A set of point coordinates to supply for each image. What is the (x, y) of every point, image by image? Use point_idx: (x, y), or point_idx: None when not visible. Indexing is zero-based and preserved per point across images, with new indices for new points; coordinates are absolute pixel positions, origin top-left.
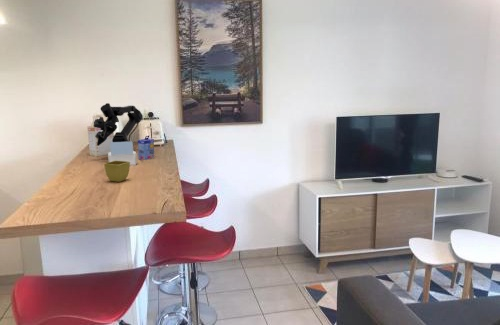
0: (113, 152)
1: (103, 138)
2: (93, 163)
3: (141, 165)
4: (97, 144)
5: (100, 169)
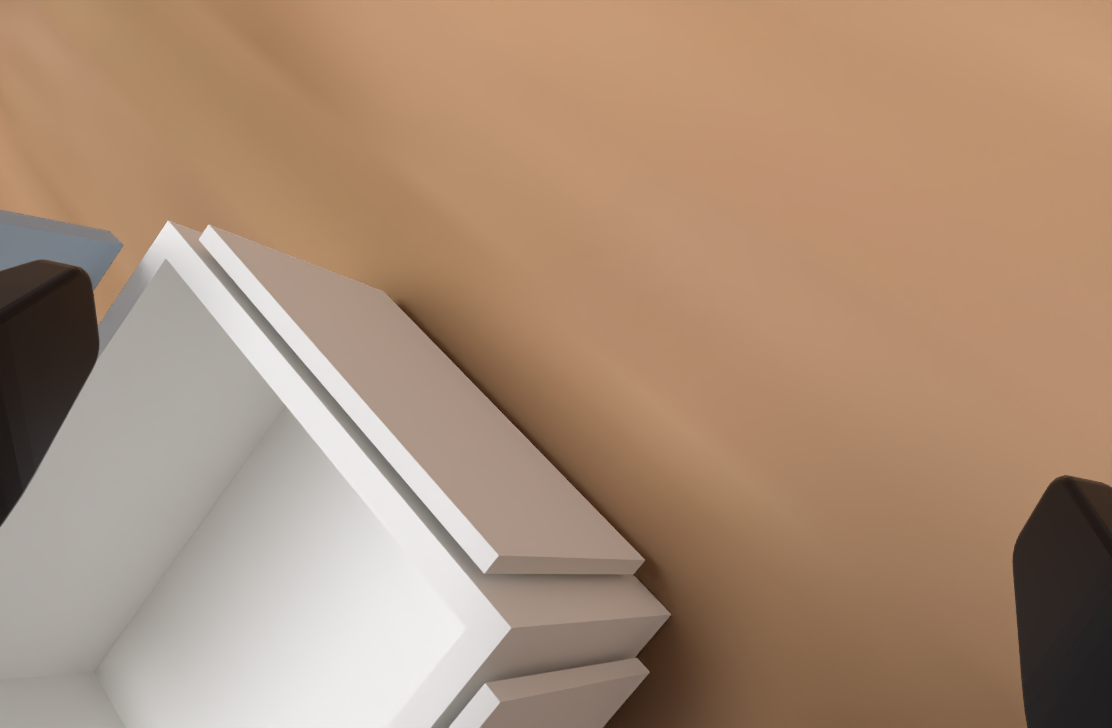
0: None
1: (53, 268)
2: (1063, 313)
3: None
4: (1059, 494)
5: (352, 44)
